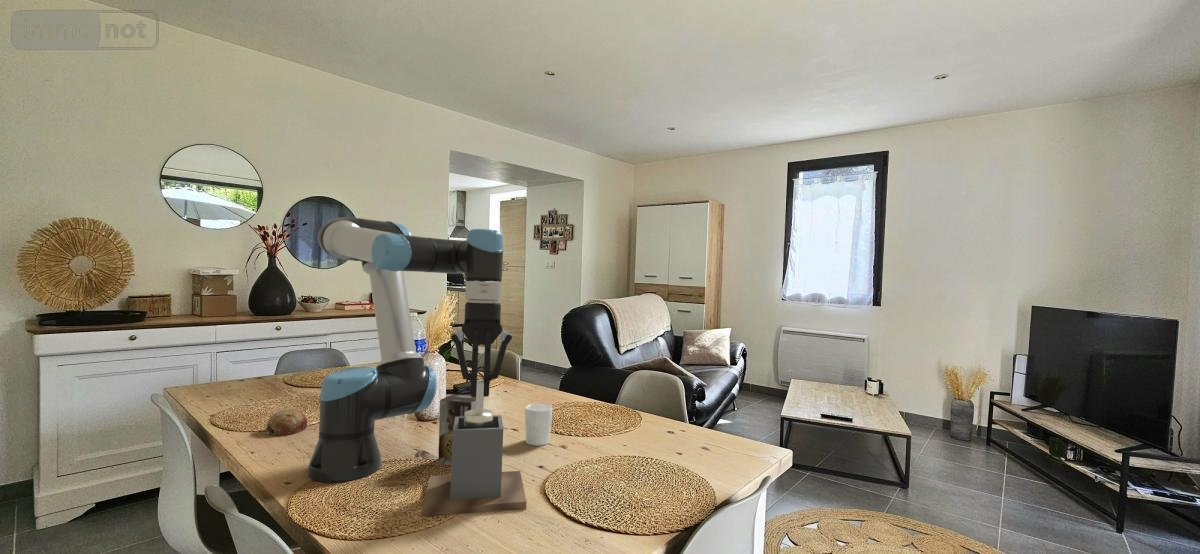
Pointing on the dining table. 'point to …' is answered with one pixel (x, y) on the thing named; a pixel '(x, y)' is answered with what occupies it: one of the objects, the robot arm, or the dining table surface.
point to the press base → (441, 505)
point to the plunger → (478, 419)
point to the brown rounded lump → (286, 422)
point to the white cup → (538, 424)
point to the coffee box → (451, 422)
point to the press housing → (476, 460)
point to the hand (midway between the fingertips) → (479, 411)
